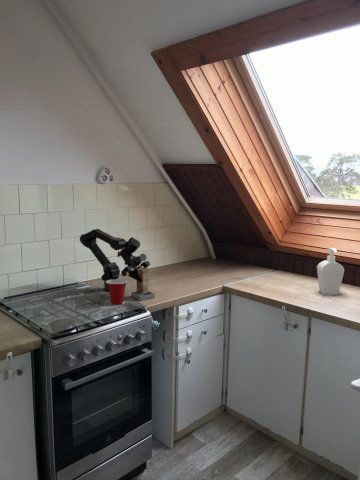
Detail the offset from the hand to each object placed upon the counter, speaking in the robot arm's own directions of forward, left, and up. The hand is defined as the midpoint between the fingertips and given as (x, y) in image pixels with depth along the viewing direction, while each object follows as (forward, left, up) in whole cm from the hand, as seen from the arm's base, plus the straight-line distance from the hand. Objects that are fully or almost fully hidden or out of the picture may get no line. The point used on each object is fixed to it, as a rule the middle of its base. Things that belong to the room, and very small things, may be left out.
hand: (144, 281), depth 224 cm
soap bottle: (+89, -53, -9) cm, 104 cm away
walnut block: (0, +1, -7) cm, 7 cm away
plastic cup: (-16, +1, -9) cm, 19 cm away
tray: (0, +1, -9) cm, 9 cm away
